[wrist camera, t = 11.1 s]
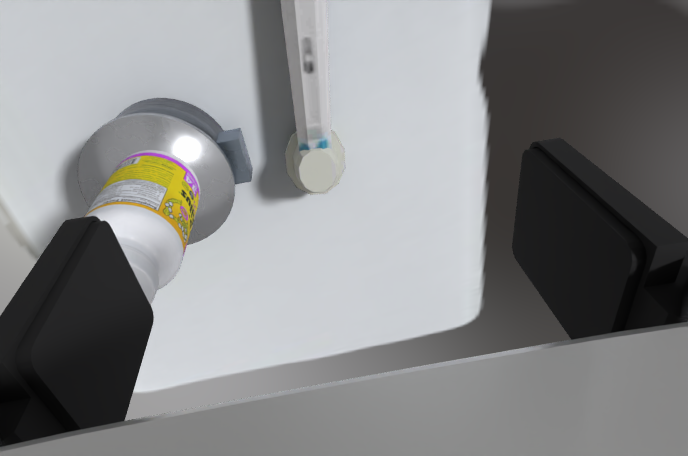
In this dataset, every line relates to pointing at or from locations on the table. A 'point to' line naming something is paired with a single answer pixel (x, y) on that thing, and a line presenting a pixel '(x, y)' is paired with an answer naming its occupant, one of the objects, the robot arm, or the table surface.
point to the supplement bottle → (150, 214)
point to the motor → (179, 140)
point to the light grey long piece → (311, 99)
